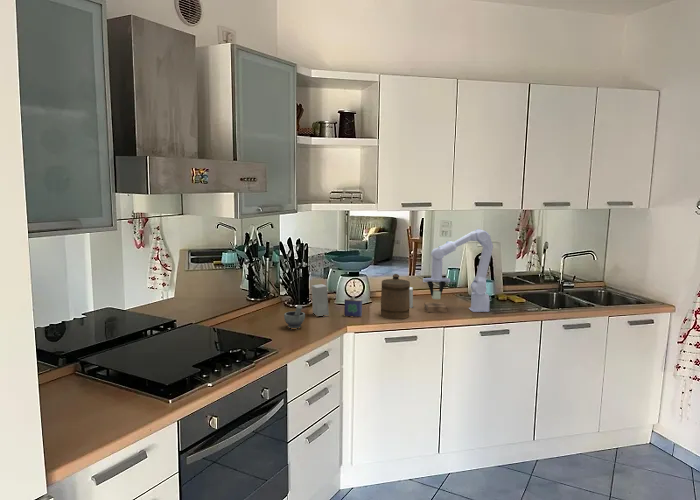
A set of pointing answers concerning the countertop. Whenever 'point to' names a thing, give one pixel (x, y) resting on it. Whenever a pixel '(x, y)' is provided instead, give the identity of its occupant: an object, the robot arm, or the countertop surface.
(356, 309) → the flask
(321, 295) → the skincare box
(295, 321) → the mortar and pestle
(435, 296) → the cube
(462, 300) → the countertop surface
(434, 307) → the base block
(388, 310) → the wooden container
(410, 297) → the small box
